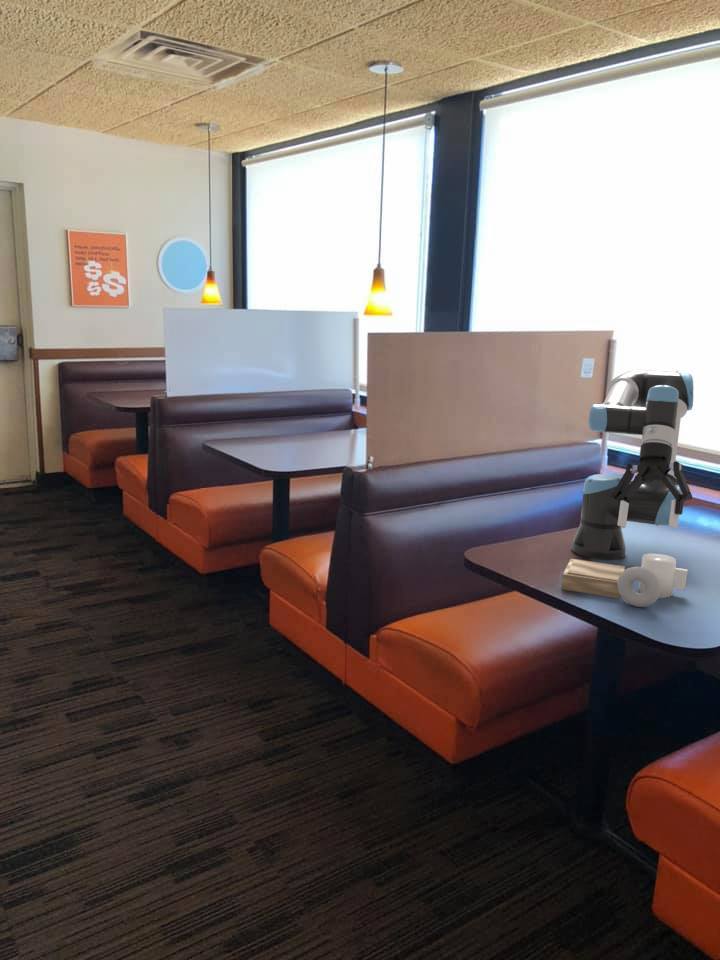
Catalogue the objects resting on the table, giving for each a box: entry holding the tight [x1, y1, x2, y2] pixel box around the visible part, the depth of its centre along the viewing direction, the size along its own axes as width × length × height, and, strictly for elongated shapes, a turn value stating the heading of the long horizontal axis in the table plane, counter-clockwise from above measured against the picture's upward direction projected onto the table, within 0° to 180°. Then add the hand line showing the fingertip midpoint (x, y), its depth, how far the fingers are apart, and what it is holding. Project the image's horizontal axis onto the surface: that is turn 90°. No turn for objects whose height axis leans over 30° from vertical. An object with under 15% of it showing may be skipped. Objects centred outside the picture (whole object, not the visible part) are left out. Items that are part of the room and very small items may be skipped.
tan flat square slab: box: [561, 558, 626, 599], centre depth 197 cm, size 14×14×4 cm
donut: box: [617, 565, 661, 608], centre depth 182 cm, size 10×4×10 cm, turn 56°
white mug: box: [638, 552, 688, 599], centre depth 192 cm, size 8×11×9 cm
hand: (646, 527), depth 188 cm, fingers open, 13 cm apart
